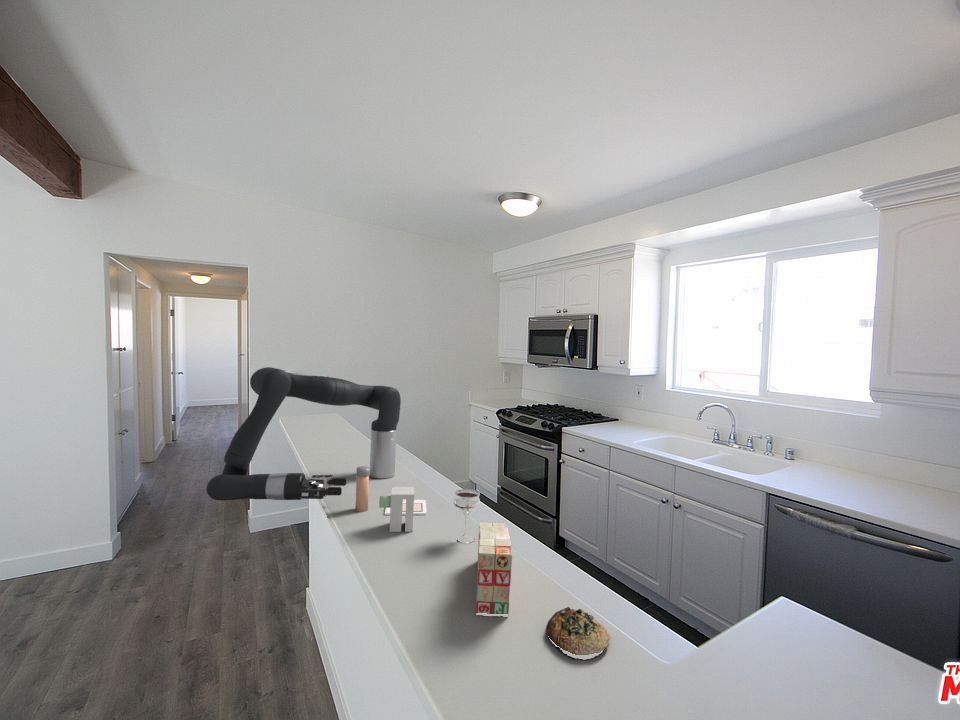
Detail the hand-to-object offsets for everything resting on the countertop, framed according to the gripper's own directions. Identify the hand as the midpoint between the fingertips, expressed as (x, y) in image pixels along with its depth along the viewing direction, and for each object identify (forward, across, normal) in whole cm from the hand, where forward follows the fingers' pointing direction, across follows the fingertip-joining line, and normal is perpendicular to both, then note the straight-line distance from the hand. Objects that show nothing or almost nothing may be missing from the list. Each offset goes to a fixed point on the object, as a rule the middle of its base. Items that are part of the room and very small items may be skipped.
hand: (343, 486), depth 130 cm
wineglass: (+34, -21, +7) cm, 41 cm away
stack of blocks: (+37, -43, +7) cm, 57 cm away
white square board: (+18, +1, +7) cm, 20 cm away
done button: (+13, -13, +1) cm, 19 cm away
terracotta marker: (+5, 0, +7) cm, 9 cm away
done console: (+17, -13, +7) cm, 23 cm away
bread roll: (+49, -61, +8) cm, 79 cm away
